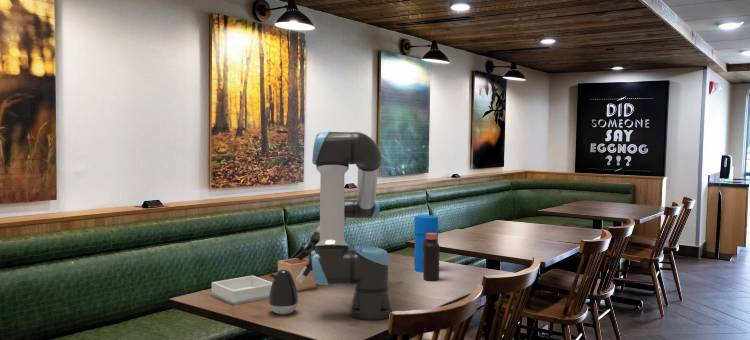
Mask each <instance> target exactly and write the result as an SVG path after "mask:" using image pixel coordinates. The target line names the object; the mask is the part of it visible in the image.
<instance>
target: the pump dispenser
mask: <svg viewBox="0 0 750 340" xmlns="http://www.w3.org/2000/svg"><path fill="white" fill-rule="evenodd" d="M269 277H270V278H273V279H272V281H271V282H272V285H271V289H270V294H269V298H268V305H269V307H270V309H271V310H272V312H274V313H276V315H289V314H291V313H293V312H294V311H295V310H296V308H297V305H298V303H299V294H298V291H297V288H296V285H295V282H294V279H293V277H292V275H291V273H290V272H289V271H288V270H284V269H283V270H280V271H278V270H277V272H276V274H274V273H269Z"/></svg>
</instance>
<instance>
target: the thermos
mask: <svg viewBox="0 0 750 340" xmlns="http://www.w3.org/2000/svg"><path fill="white" fill-rule="evenodd" d="M426 233H437V240H436V242H437V243H438V244H439V217H438V215H431V214H419V215H415V216H414V242H413V243H414V245H413V246H414V247H413V248H414V250H413V255H414V256H413V261H414V262H413V264H414V266H413V267H414V271H415V272H418V273H423V267H424V244H425V243H426V242H427V240H426Z"/></svg>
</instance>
